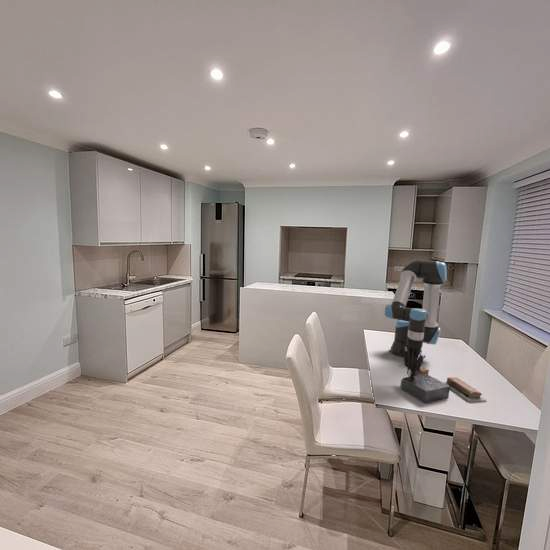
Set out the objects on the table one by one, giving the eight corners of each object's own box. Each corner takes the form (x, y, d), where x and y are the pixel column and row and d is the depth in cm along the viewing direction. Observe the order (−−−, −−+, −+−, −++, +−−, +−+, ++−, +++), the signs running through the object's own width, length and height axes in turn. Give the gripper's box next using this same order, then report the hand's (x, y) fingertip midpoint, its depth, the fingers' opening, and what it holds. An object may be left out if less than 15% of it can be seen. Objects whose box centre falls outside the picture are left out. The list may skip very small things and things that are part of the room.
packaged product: (443, 376, 160) (460, 376, 162) (442, 384, 161) (458, 384, 162) (469, 393, 142) (488, 393, 144) (468, 403, 143) (486, 402, 144)
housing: (401, 388, 153) (402, 377, 152) (423, 384, 159) (424, 373, 158) (424, 403, 140) (426, 391, 139) (448, 397, 146) (449, 386, 146)
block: (413, 375, 169) (414, 367, 168) (420, 374, 171) (421, 366, 170) (421, 379, 164) (422, 371, 164) (427, 378, 166) (428, 369, 166)
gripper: (399, 335, 159) (395, 376, 162) (420, 343, 147) (415, 388, 150) (410, 333, 162) (405, 375, 165) (431, 342, 150) (425, 386, 153)
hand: (410, 381), depth 157 cm, fingers closed
